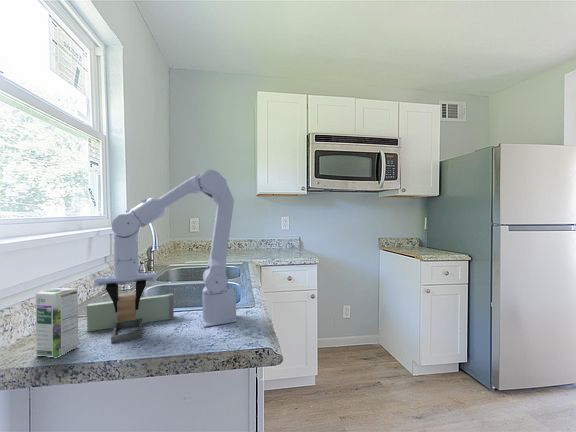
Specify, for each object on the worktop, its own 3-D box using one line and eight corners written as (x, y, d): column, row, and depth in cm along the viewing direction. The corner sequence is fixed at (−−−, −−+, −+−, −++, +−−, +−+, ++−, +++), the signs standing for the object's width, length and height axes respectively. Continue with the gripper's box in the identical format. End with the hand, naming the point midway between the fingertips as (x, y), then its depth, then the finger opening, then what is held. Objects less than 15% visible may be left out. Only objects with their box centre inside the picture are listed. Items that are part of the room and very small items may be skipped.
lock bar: (135, 319, 76) (134, 299, 76) (117, 321, 74) (117, 302, 74) (136, 310, 83) (135, 292, 83) (119, 312, 82) (119, 294, 82)
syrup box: (34, 357, 66) (33, 293, 66) (59, 345, 72) (58, 286, 72) (56, 359, 65) (55, 293, 65) (79, 347, 71) (78, 287, 71)
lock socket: (141, 323, 85) (141, 318, 85) (141, 337, 76) (141, 332, 76) (115, 328, 82) (115, 322, 82) (111, 343, 73) (111, 337, 73)
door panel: (173, 316, 92) (172, 293, 92) (173, 318, 89) (173, 294, 89) (88, 328, 82) (88, 303, 82) (87, 331, 80) (86, 305, 80)
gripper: (155, 255, 86) (156, 302, 86) (96, 259, 79) (97, 309, 79) (156, 258, 79) (157, 309, 79) (92, 263, 73) (93, 317, 73)
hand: (127, 309), depth 79 cm, fingers closed on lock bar, 4 cm apart
